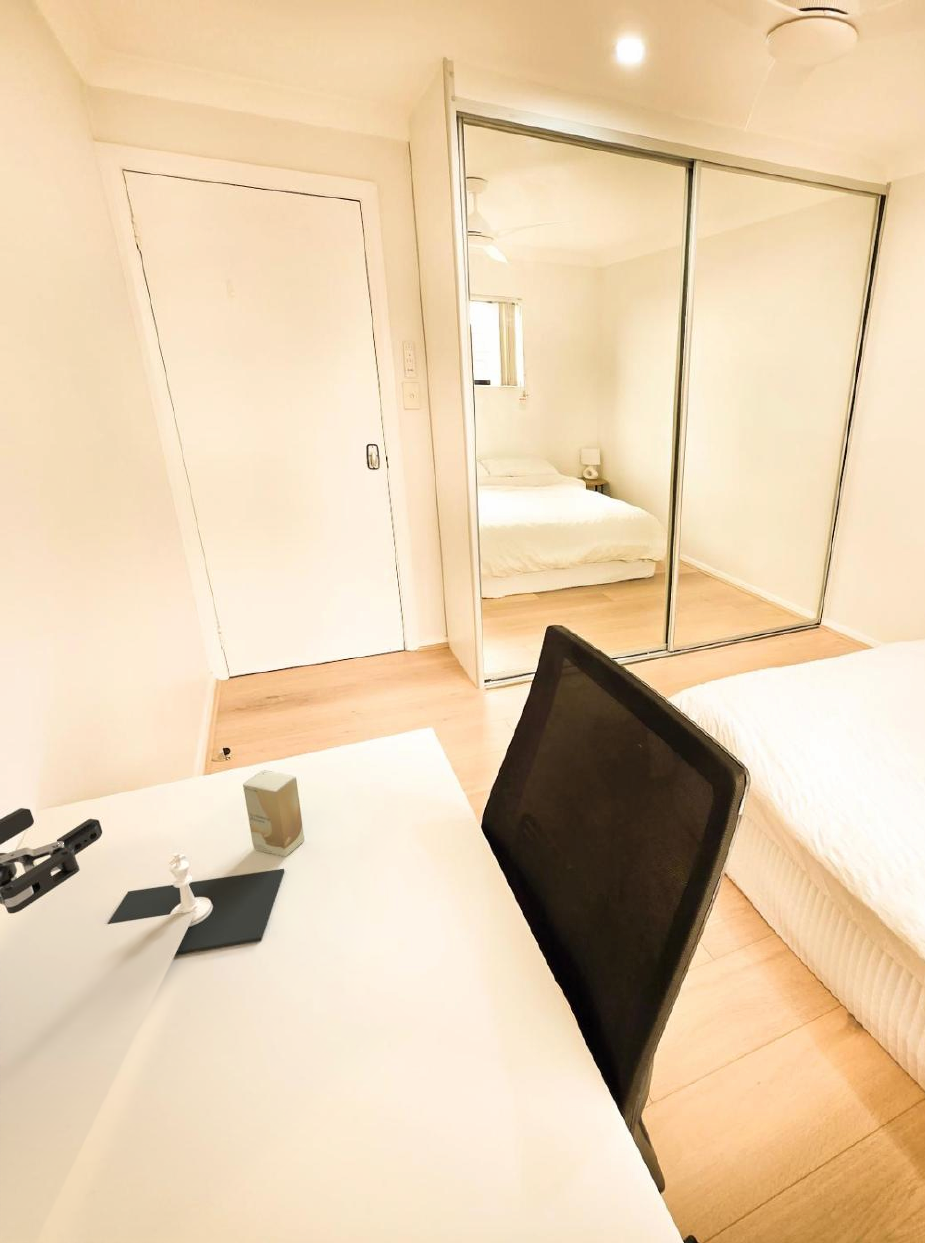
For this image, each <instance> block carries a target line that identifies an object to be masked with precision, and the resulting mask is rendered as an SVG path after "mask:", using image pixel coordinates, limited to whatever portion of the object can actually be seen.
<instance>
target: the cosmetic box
mask: <svg viewBox="0 0 925 1243" xmlns="http://www.w3.org/2000/svg"><path fill="white" fill-rule="evenodd" d="M242 787H243V793H244V799H245V800H244V801H245V805H246V811H247V819H248V823H249V828H250V834H251V835H250V836H251V841H252V848H253V849H254V850H256V851H260V852H264V853H267V854H272V855H276V856H279V857H287V856H289V855H290V854H291V853H292V852H293V851H294V850H295V849H296V848H298V847H299V846H300V845H301V844H302V843H304V842H305V834H304V833H305V832H304V825H303V818H302V811H301V810H302V809H301V804H300V795H299V788H298V781H297V776H295V775H291V774H286V773H283V772H276V771H272V770H267V769H262V770H261V771H260V772H258V773H256V774H255V775H254V776H252V777H251V778H249V779H248V780H246V781H245V782H244V783H242Z"/></svg>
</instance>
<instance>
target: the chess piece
mask: <svg viewBox="0 0 925 1243" xmlns="http://www.w3.org/2000/svg"><path fill="white" fill-rule="evenodd" d="M186 858H187V857H186V854H185V853H182V854H179V853H178V852H176V853H174V854H173V859H171V860H169V861H168V862H169V865H171V867H170V868H169V871H170V873H171V874H172V875H173V876H174V878H175V880H174V881H173V883H172V885H173V886H174V887H176V888H180V896H181V903H180V904H179V905H177V906H176V907H175V908H174V909H173V910H172V911H171V913H170V915H175V914H182V913H184V914H186V913H189V912H190V913H191V912H194V911H195V912H194V914H193V917H192V918H191V921H190V923H189V924H188V927H191V926H193V925H196V924H198V923H200V922H201V921H203V920H204V919H205V918H206V917H208V915H209V914H210V913H211V911H212V909H213V905H212V903H211V901H210V900H209V899H208V898H205V897H194V895H193V893H192V891H191V889H190V886H189V883H191V882H193V881H194V880H193V879H194V878H193V876H192V875H191V874H188V872H189V871H188V870H189V868H190V867H189V865H190V864H189V862H188V861H185V860H184V859H186Z"/></svg>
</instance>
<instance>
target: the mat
mask: <svg viewBox="0 0 925 1243" xmlns="http://www.w3.org/2000/svg"><path fill="white" fill-rule="evenodd" d="M284 875H285V868H278V869H272V870H265V871H258V872H252V873H245V874H237V875H231V876H223V877H217V878H210V879H203V880H197V881H192V882H191V883H189V886H190V889H191V891H192V893H193V895H194V897H205V898H208V899H209V900H210V901H211V903H212V905H213V909H212V911H211V913H210V914H209V915H208V917H206V918H205V919H204V920H203V921H201V922H200V923H198V924H196V925H193V926H191V927H189V926H187V928H186V931H185V933H184V934H183V937H182V939H181V941H180V943H179V946H178V947H177V949H176V952H175V953H174V956H180V955H186V954H192V953H197V952H203V951H208V950H214V949H219V948H226V947H231V946H237V945H245V944H249V943H255V942H261V941H262V939H263V937H264V934H265V931H266V928H267V925H268V922H269V919H270V915H271V913H272V910H273V908H274V907H273V906H274V903H275V901H276V898H277V895H278V893H279V889H280V887H281V884H282V880H283V877H284ZM180 903H181V896H180V888H176V887H174V886H173V884H170V885H169V884H168V885H162V886H155V887H148V888H142V889H136V890H128V891H127V892H126V894H125V895H124V898H123V899H122V900H121V902H120V903H119V905H118V906H117V908H116V909H115V911H114V912H113V914H112V915H111V917H110V919H109V921H108V922H107V925H112V924H118V923H125V922H132V921H137V920H144V919H150V918H156V917H163V916H169V915H171V914H170V913H171V911H172V910H173V909H174V908H175V907H176V906H177V905H179V904H180Z"/></svg>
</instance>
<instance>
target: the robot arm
mask: <svg viewBox="0 0 925 1243" xmlns="http://www.w3.org/2000/svg"><path fill="white" fill-rule="evenodd" d="M34 823H35V820H34V817H33V814H32V811H31V809H30V808H26V807H25V808H23V807H20V808H17V809H16V810H15V811H13V812H11V813H9V814H7V815H6V816H3V817H2V818H0V846H1V845H3V844H4V843H6V842H8V841H10V840H12V838H15V837H16V836H17V835H19V834H21V833H23V832H24V831H26V830H28V829H30V828H31V827H33V825H34ZM102 834H103V829H102V826H101V822H100V820H99V819H97V818H89V819H87V820H85V821H83V822H82V823H80V824H79V825H77V826H76V827H74V828H72V829H71V830H70V831H68V832H67V833H65V834H63V835H62V836H60V837H58V839H56V841H55V842H51V843H49V844H45V845H43V846H40V847H36V848H30V847H22V848H20V849H16V850H12V851H10V852H0V905H3V906H4V907H5V908H6V912H7V913H8V914H16V913H19V912H21V911H23V910H24V909H26V908H27V907H29V906H30V905H31V904H33V903H34V902H36V901H37V900H39V899H40V898H42V897H43V896H45V895H46V894H47V893H49V892H51V891H52V890H53V889H55V888H56V887H58V886H60V885H61V884H63V883H64V882H65V881H67V880H69V879H70V878H72V877H73V876H74V875H76V874H77V873H78V872H79V871H80V870H81V869H80V866H79V864H78V862H77V859H76V855H78V854H79V853H81V852H82V851H83V850H86V848H88V847H89V846H90V845H92V844H94V843H95V842H97V841H99V839H100V838H101V837H102ZM47 856H49V857H48V858H46V857H47ZM44 857H45V858H46V859H45V860H43V861H42V862H40V863H39V864H36V861H37V860H39V859H42V858H44ZM16 863H20V864H21V865H22V867H23V870H24V873H23V874H21V875H19V876H16V875H17V873H18V869H17V866H16ZM56 871H57V872H56ZM53 872H56V873H54V874H52V873H53Z"/></svg>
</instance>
